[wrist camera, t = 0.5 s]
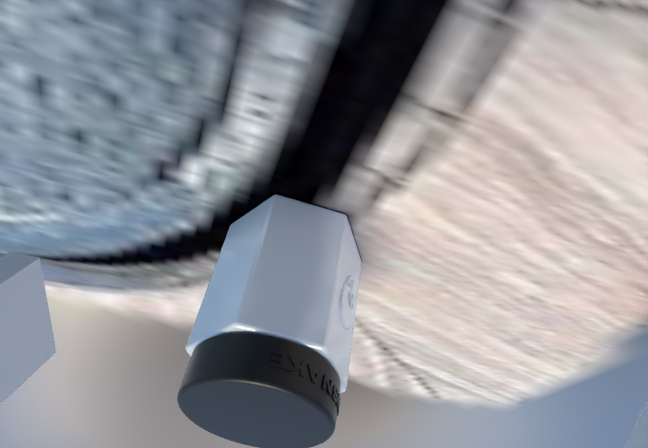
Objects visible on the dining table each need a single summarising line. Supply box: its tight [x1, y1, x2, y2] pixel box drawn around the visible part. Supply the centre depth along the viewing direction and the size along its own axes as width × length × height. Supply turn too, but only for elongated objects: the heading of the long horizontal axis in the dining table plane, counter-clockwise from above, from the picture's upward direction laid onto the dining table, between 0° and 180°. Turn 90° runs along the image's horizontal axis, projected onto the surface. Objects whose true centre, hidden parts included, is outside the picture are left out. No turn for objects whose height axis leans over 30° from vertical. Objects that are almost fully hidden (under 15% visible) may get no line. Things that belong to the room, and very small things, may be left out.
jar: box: [178, 194, 362, 448], centre depth 31 cm, size 9×8×12 cm
